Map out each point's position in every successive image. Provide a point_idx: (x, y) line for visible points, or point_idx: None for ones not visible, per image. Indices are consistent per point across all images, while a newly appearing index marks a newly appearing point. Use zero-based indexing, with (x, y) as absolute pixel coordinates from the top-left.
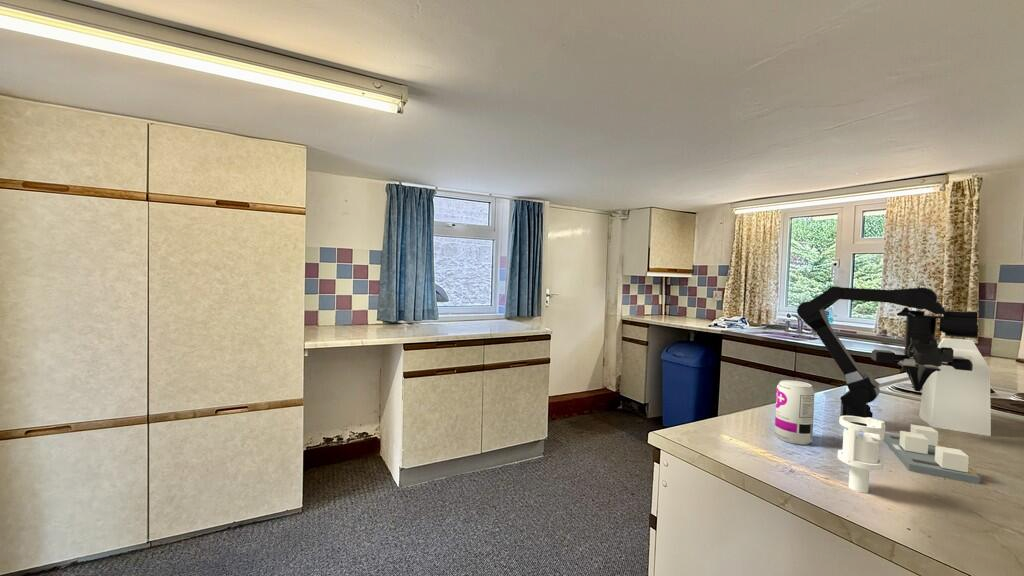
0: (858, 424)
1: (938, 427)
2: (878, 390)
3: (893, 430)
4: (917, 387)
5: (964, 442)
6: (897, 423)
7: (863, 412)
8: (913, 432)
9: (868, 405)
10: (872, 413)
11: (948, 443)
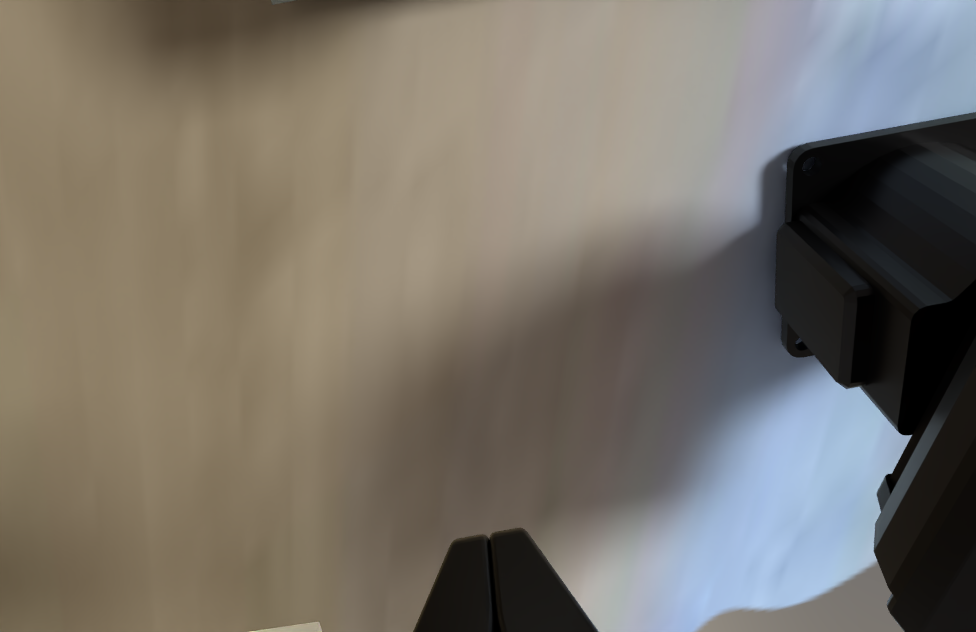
0: (910, 154)
1: (274, 630)
2: (963, 549)
3: (587, 313)
4: (509, 592)
5: (102, 379)
6: None
7: (955, 227)
8: None
9: (904, 392)
10: (842, 293)
11: (201, 244)
